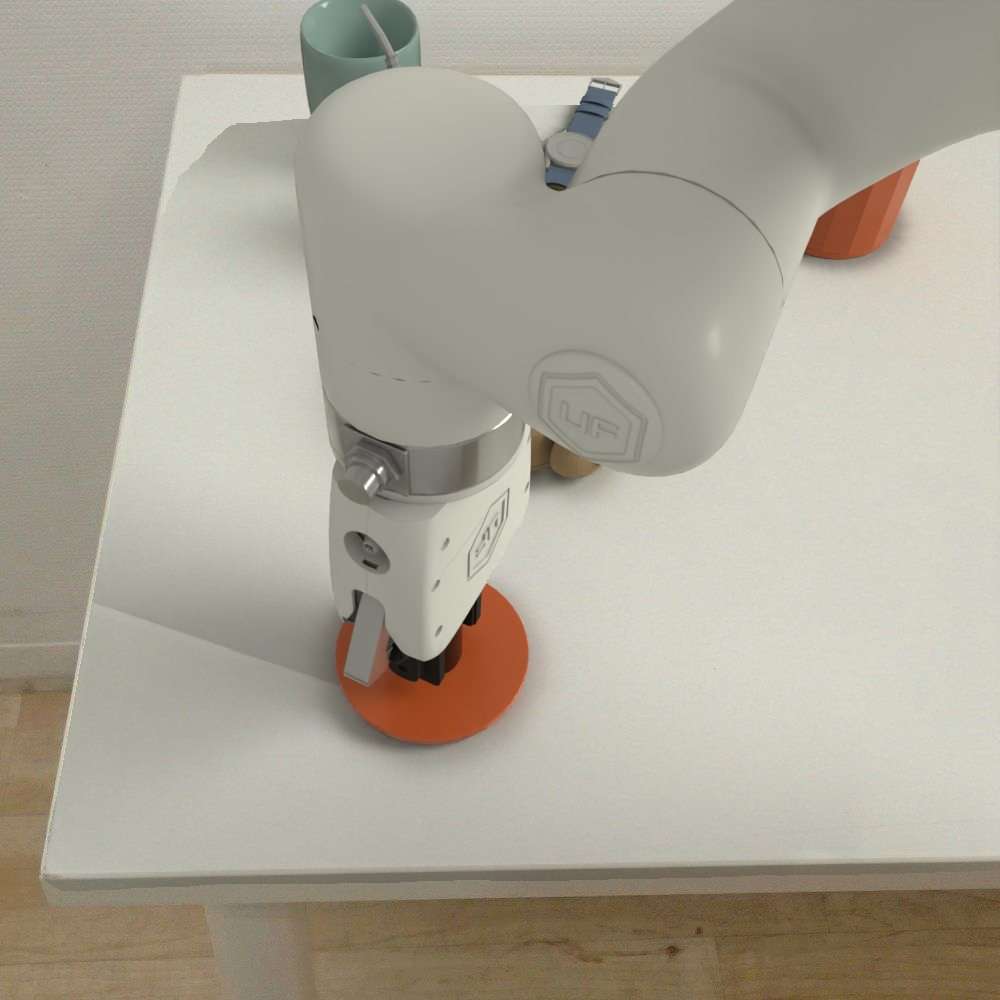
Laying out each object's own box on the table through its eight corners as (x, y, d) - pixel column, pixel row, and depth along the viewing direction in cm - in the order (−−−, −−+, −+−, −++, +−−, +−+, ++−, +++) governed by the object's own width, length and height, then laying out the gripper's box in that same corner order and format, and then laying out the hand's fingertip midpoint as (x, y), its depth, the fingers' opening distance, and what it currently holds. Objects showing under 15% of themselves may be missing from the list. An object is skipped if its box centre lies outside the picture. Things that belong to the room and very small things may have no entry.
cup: (429, 183, 82) (427, 56, 74) (317, 192, 81) (302, 64, 73) (415, 114, 86) (412, -13, 78) (309, 122, 85) (294, -6, 77)
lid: (559, 625, 62) (569, 559, 56) (473, 783, 57) (475, 726, 51) (396, 552, 64) (392, 482, 59) (300, 697, 59) (285, 634, 54)
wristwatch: (633, 88, 89) (635, 77, 88) (555, 259, 78) (556, 248, 77) (580, 75, 90) (581, 64, 89) (494, 243, 78) (495, 232, 78)
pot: (907, 196, 83) (954, 79, 75) (870, 276, 78) (917, 160, 70) (783, 155, 85) (817, 37, 77) (740, 231, 80) (772, 113, 72)
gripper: (406, 610, 38) (418, 814, 53) (606, 297, 47) (568, 548, 62) (214, 521, 40) (278, 743, 55) (441, 235, 49) (443, 493, 64)
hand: (432, 637), depth 58 cm, fingers closed on lid, 3 cm apart
